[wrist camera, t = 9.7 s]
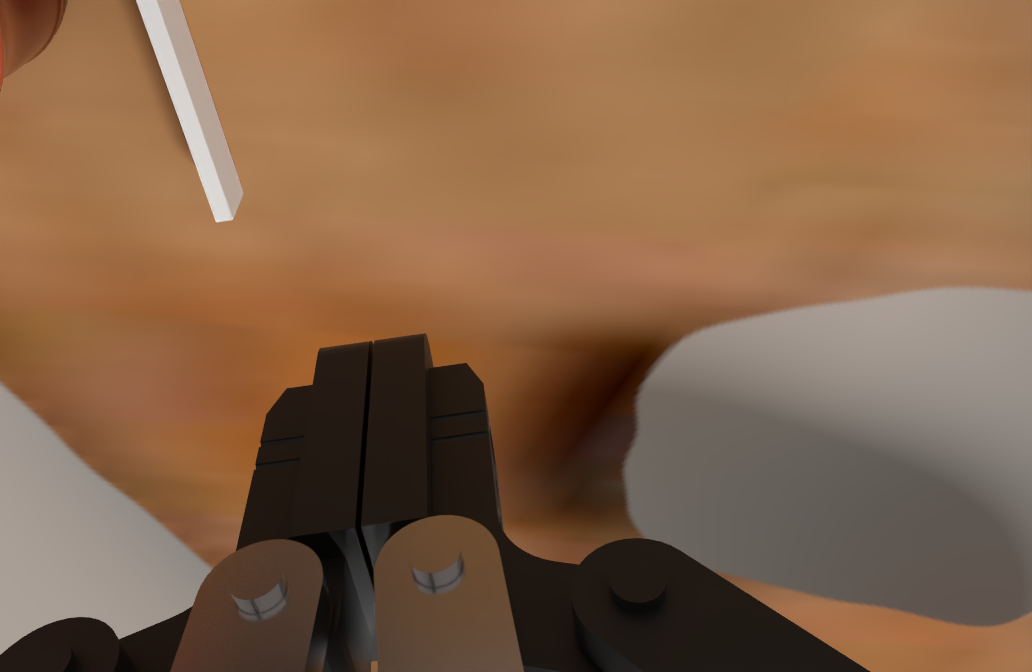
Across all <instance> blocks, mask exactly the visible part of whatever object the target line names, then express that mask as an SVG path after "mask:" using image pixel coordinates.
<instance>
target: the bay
mask: <svg viewBox="0 0 1032 672" xmlns="http://www.w3.org/2000/svg"><path fill="white" fill-rule="evenodd" d="M136 2H137V4H138V7H139V10H140V13H141V15H142V18H143V21H144V24H145V27H146V29H147V32H148V35H149V38H150V40H151V43H152V46H153V49H154V51H155V54H156V57H157V60H158V63H159V65H160V68H161V71H162V74H163V76H164V79H165V82H166V85H167V87H168V90H169V93H170V96H171V99H172V101H173V104H174V107H175V110H176V112H177V115H178V118H179V121H180V123H181V126H182V129H183V132H184V135H185V137H186V140H187V143H188V146H189V148H190V151H191V154H192V157H193V159H194V162H195V165H196V168H197V171H198V173H199V176H200V179H201V182H202V184H203V187H204V190H205V193H206V195H207V198H208V201H209V204H210V207H211V209H212V212H213V215H214V218H215V220H216V222H222V221H228V220H233V218H234V216H235V213H236V211H237V208H238V206H239V203H240V201H241V198H242V196H243V190H242V187H241V184H240V181H239V178H238V175H237V172H236V169H235V166H234V163H233V160H232V157H231V154H230V151H229V148H228V145H227V142H226V139H225V136H224V133H223V130H222V127H221V124H220V121H219V118H218V115H217V112H216V109H215V106H214V103H213V100H212V97H211V94H210V91H209V88H208V85H207V82H206V79H205V76H204V73H203V70H202V67H201V64H200V61H199V58H198V55H197V52H196V49H195V46H194V43H193V40H192V37H191V34H190V31H189V28H188V25H187V22H186V19H185V16H184V13H183V10H182V7H181V4H180V1H179V0H136Z"/></svg>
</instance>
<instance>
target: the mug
mask: <svg viewBox="0 0 1032 672" xmlns="http://www.w3.org/2000/svg"><path fill="white" fill-rule="evenodd" d="M66 6H67V0H0V91H1V86H2V82H3V78H5V77H7V76H8V75H10V74H11V73H13V72H14V71H16V70H17V69H19V68H20V67H21V66H23V65H24V64H26V63H28V62H29V61H31V60H33V59H34V58H36V57H37V56H38V55H39V54H40V53H41V52H42V51H43V50H44V49H45V48H46V47H47V46H48V44H49V43H50V42H51V40H52V38H53V37H54V35H55V34H56V32H57V30H58V29H59V27H60V24H61V22H62V19H63V16H64V13H65V9H66Z"/></svg>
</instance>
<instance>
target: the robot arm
mask: <svg viewBox="0 0 1032 672" xmlns="http://www.w3.org/2000/svg"><path fill="white" fill-rule="evenodd" d="M260 442H261V447H259V450H258V455H257V459H256V464H255V465H256V470H254V473H253V477H252V481H251V486H250V490H249V495H248V499H247V504H246V508H245V513H244V517H243V522H242V526H241V531H240V535H239V539H238V544H237V548H236V552H234V553H232V554H231V555H229V556H228V557H226V558H225V559H223V560H222V561H221V562H220V563H219V564H218V565H217V566H215V567H214V568H213V569H212V571H211V572H210V573H209V574H208V575H207V577H206V578H205V580H204V581H203V583H202V585H201V586H200V589H199V591H198V593H197V596H196V599H195V601H194V605H193V606H192V607H191V608H189V609H187V610H186V611H184V612H182V613H180V614H178V615H176V616H174V617H172V618H169V619H167V620H165V621H162V622H160V623H157V624H155V625H153V626H150V627H148V628H145V629H143V630H141V631H139V632H136V633H133V634H131V635H128V636H126V637H124V638H121V639H118V637H117V636H116V634H115V633H114V631H113V630H112V628H111V627H110V626H108V625H107V624H106V623H104V622H102V621H100V620H97V619H93V618H87V617H76V618H68V619H64V620H59V621H56V622H53V623H50V624H47V625H45V626H43V627H41V628H38V629H36V630H35V631H32V632H31V633H29V634H28V635H26V636H24V637H23V638H21V639H20V640H19V641H17V642H16V643H15V644H13V645H12V646H10V647H9V648H8V649H7V650H6V651H4V652H3V653H2V654H1V655H0V672H371V661H378V672H870V671H868V670H867V669H865V668H864V667H862V666H860V665H859V664H857V663H856V662H854V661H853V660H851V659H849V658H848V657H846V656H845V655H843V654H842V653H840V652H838V651H837V650H835V649H834V648H832V647H831V646H829V645H828V644H826V643H824V642H823V641H821V640H820V639H818V638H817V637H815V636H813V635H812V634H810V633H809V632H807V631H806V630H804V629H802V628H801V627H799V626H798V625H796V624H795V623H793V622H791V621H790V620H788V619H787V618H785V617H784V616H782V615H780V614H779V613H777V612H776V611H774V610H773V609H771V608H769V607H768V606H766V605H765V604H763V603H762V602H760V601H758V600H757V599H755V598H754V597H752V596H751V595H749V594H747V593H746V592H744V591H743V590H741V589H740V588H738V587H736V586H735V585H733V584H732V583H730V582H729V581H727V580H725V579H724V578H722V577H721V576H719V575H718V574H716V573H714V572H713V571H711V570H710V569H708V568H707V567H705V566H703V565H702V564H700V563H699V562H697V561H696V560H694V559H693V558H691V557H689V556H688V555H686V554H685V553H683V552H681V551H680V550H678V549H676V548H674V547H672V546H671V545H668V544H665V543H663V542H660V541H655V540H651V539H641V538H633V539H623V540H618V541H614V542H611V543H608V544H605V545H603V546H602V547H600V548H598V549H596V550H595V551H593V552H592V553H590V554H589V555H588V556H587V557H586V558H585V559H584V560H583V561H582V562H581V564H580V565H578V564H570V563H563V562H555V561H550V560H545V559H542V558H539V557H536V556H533V555H531V554H529V553H527V552H525V551H523V550H521V549H520V548H519V547H517V546H516V545H515V544H514V543H513V542H512V541H510V540H509V539H508V537H507V536H506V534H505V533H504V530H503V521H502V513H501V503H500V495H499V486H498V477H497V468H496V460H495V454H494V448H493V441H492V435H491V429H490V422H489V416H488V410H487V403H486V397H485V391H484V384H483V382H482V381H481V380H480V379H479V378H478V376H477V375H476V374H475V373H474V372H473V371H472V369H471V368H470V367H469V366H468V365H467V363H463V364H456V365H449V366H441V367H433V362H432V357H431V352H430V347H429V342H428V338H427V335H426V333H424V334H417V335H410V336H403V337H396V338H389V339H382V340H375V341H374V344H373V342H372V341H369V342H362V343H355V344H347V345H340V346H333V347H326V348H320V349H319V351H318V356H317V362H316V368H315V374H314V380H313V385H308V386H301V387H294V388H287V389H286V390H285V391H284V393H283V394H282V395H281V397H280V398H279V399H278V400H277V402H276V403H275V404H274V406H273V407H272V408H271V409H270V411H269V412H268V413H267V414H266V419H265V423H264V428H263V432H262V437H261V441H260Z"/></svg>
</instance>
